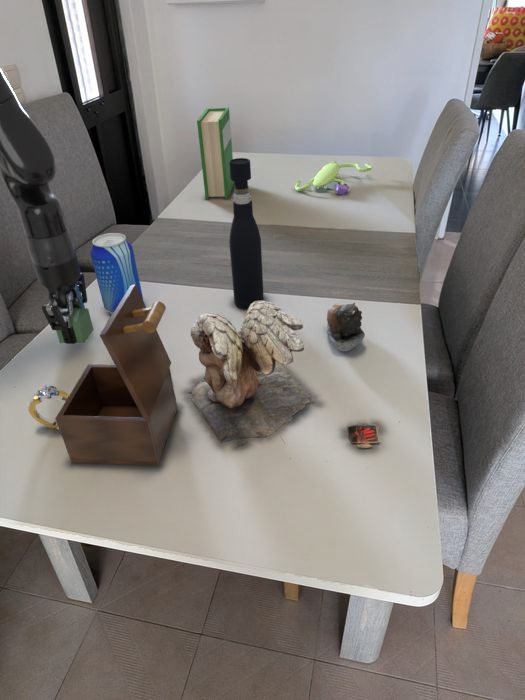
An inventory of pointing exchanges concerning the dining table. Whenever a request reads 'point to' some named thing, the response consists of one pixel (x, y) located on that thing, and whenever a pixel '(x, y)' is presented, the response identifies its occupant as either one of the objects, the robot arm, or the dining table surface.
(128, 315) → the lid
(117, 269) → the beer can
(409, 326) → the dining table surface
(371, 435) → the matchbox
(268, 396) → the cherub figurine
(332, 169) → the figurine
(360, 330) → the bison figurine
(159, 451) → the chest
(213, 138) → the hardback book
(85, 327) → the block
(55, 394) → the ring
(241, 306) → the black bottle
